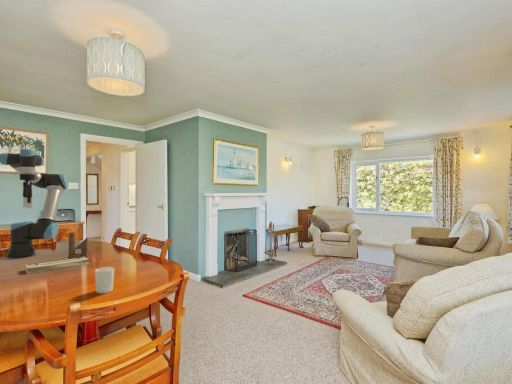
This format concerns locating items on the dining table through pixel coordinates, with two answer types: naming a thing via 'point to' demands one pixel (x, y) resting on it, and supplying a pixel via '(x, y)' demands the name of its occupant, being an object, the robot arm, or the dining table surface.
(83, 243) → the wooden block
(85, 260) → the maple board
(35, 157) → the robot arm
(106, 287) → the white cup
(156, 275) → the dining table surface
